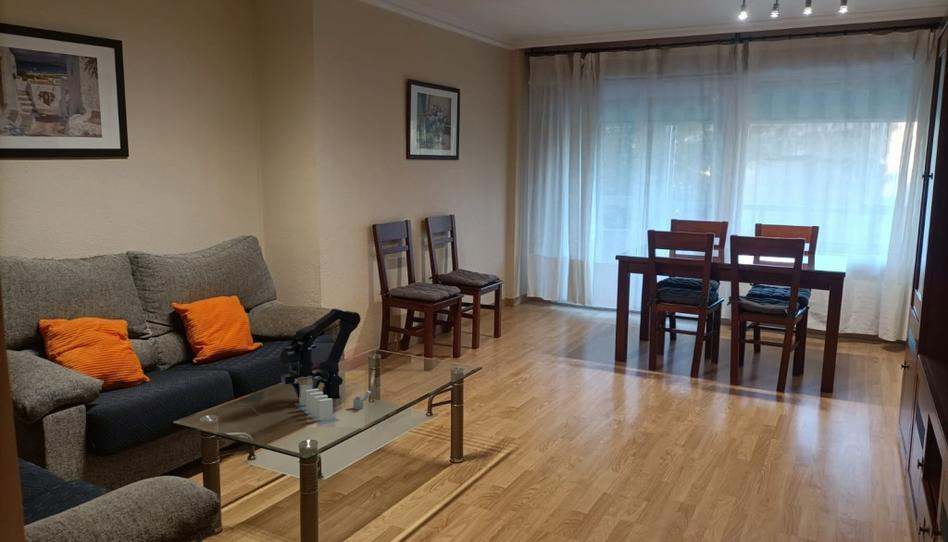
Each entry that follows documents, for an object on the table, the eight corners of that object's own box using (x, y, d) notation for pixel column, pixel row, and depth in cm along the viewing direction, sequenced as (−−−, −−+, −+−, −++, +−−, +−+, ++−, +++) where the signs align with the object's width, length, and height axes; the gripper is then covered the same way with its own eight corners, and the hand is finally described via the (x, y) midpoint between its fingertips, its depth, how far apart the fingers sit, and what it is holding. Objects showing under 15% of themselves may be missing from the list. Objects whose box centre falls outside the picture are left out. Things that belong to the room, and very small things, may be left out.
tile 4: (319, 420, 275) (318, 400, 274) (331, 417, 277) (330, 398, 276) (320, 421, 273) (320, 401, 272) (332, 419, 276) (332, 399, 275)
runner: (294, 404, 295) (294, 403, 295) (312, 401, 299) (312, 400, 299) (319, 425, 270) (319, 424, 270) (339, 421, 274) (339, 420, 274)
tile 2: (310, 412, 283) (309, 393, 282) (321, 410, 286) (321, 391, 285) (311, 413, 282) (311, 394, 281) (323, 411, 284) (323, 392, 283)
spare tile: (299, 404, 294) (299, 385, 293) (311, 402, 296) (310, 384, 295) (300, 405, 292) (300, 386, 291) (312, 403, 295) (312, 384, 294)
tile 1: (305, 409, 287) (305, 390, 286) (317, 407, 290) (317, 388, 289) (307, 410, 286) (306, 391, 285) (318, 408, 289) (318, 389, 288)
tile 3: (314, 416, 279) (314, 396, 278) (326, 414, 282) (326, 394, 281) (315, 417, 278) (315, 397, 277) (327, 415, 280) (327, 395, 279)
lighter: (353, 409, 289) (353, 390, 288) (354, 408, 291) (354, 389, 290) (370, 410, 288) (369, 391, 287) (371, 409, 290) (371, 390, 289)
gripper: (319, 353, 304) (320, 388, 306) (276, 358, 294) (277, 395, 296) (329, 358, 295) (329, 395, 296) (285, 364, 284) (286, 402, 286)
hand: (305, 396), depth 294 cm, fingers open, 6 cm apart
